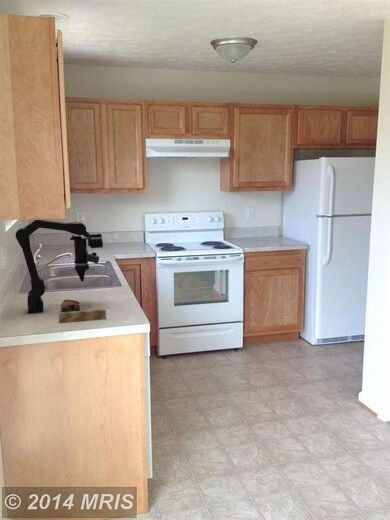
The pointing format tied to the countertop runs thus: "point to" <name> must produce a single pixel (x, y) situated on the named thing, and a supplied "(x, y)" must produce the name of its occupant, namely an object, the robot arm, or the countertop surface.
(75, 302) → the pottery mug
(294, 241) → the countertop surface
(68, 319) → the walnut board
